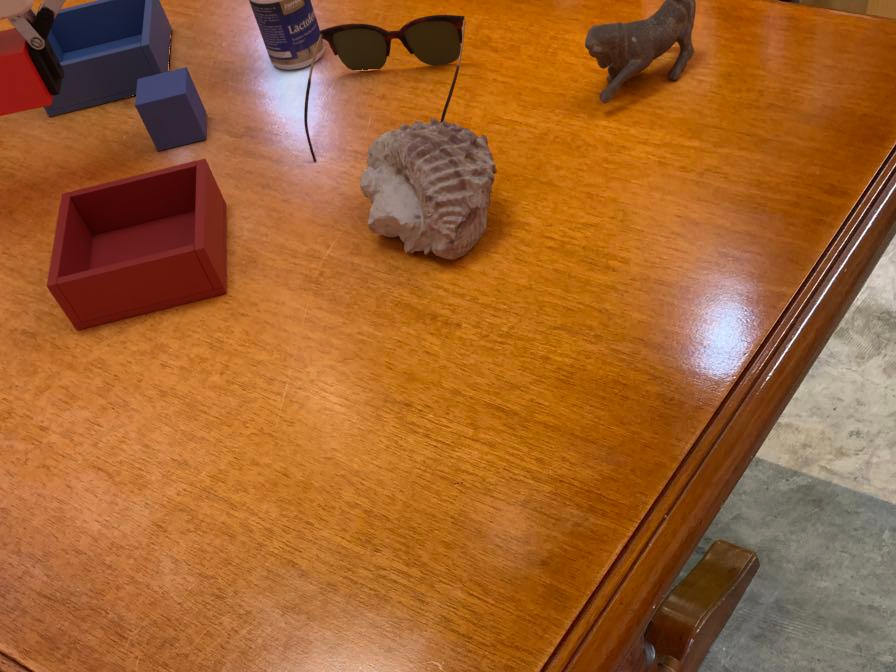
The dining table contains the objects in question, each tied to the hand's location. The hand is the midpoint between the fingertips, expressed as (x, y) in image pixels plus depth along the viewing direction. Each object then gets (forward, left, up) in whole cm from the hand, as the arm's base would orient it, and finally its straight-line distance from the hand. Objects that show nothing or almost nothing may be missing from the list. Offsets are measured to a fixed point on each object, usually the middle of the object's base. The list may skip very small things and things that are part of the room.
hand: (25, 92), depth 91 cm
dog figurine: (+54, -7, -9) cm, 55 cm away
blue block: (+11, +3, -8) cm, 14 cm away
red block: (0, 0, 0) cm, 0 cm away
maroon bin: (+9, -17, -8) cm, 21 cm away
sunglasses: (+31, -2, -9) cm, 32 cm away
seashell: (+33, -20, -9) cm, 39 cm away
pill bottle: (+23, +12, -9) cm, 27 cm away
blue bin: (+3, +18, -8) cm, 20 cm away
